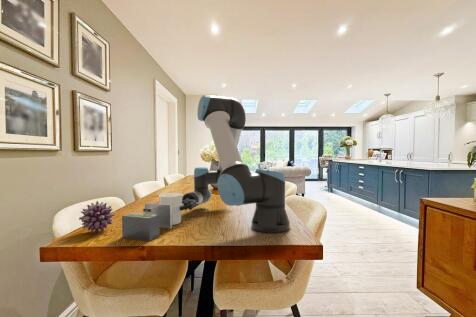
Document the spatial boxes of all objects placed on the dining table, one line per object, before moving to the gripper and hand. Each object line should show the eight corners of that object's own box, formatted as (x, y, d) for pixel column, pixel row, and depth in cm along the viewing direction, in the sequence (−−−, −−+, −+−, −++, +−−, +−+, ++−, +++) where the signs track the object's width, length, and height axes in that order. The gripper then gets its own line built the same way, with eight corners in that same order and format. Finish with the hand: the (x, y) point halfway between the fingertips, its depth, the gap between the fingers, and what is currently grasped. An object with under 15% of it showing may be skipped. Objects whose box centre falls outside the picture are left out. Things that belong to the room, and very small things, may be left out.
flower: (116, 233, 91) (115, 202, 91) (78, 239, 85) (77, 205, 84) (114, 225, 101) (113, 197, 101) (80, 230, 95) (79, 200, 94)
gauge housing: (159, 236, 87) (158, 214, 87) (149, 241, 82) (149, 217, 82) (132, 233, 91) (132, 212, 91) (122, 237, 86) (121, 215, 86)
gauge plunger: (172, 227, 94) (171, 204, 94) (160, 233, 88) (160, 208, 87) (147, 224, 98) (146, 202, 98) (134, 230, 92) (133, 206, 91)
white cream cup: (176, 226, 98) (176, 197, 98) (154, 225, 100) (154, 196, 100) (186, 219, 108) (186, 193, 108) (166, 218, 110) (166, 192, 110)
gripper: (211, 208, 117) (187, 220, 96) (173, 205, 124) (143, 216, 103) (211, 193, 117) (187, 201, 96) (173, 191, 124) (143, 199, 103)
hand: (164, 209), depth 100 cm, fingers closed on white cream cup, 9 cm apart
